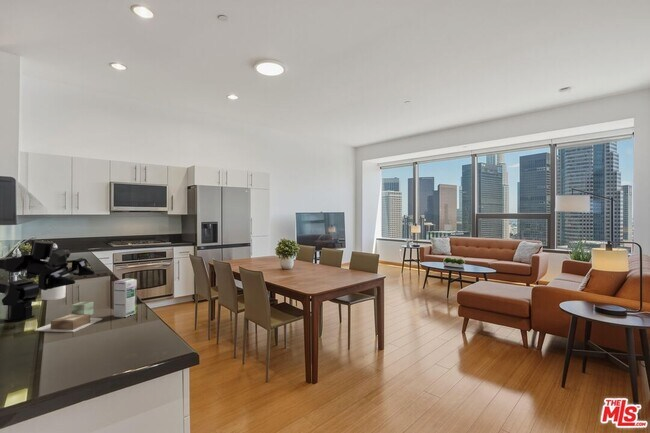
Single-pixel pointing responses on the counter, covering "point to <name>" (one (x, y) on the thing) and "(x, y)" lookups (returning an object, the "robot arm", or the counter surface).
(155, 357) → the counter surface
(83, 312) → the sage block
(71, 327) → the board
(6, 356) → the counter surface
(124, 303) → the syrup box
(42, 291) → the cylinder with rectangular tab
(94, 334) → the counter surface
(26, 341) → the counter surface
